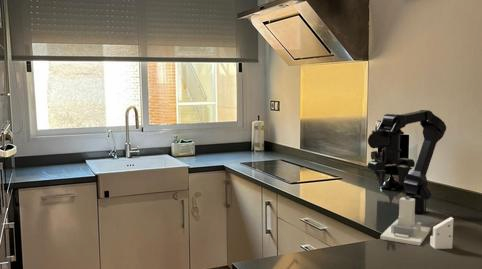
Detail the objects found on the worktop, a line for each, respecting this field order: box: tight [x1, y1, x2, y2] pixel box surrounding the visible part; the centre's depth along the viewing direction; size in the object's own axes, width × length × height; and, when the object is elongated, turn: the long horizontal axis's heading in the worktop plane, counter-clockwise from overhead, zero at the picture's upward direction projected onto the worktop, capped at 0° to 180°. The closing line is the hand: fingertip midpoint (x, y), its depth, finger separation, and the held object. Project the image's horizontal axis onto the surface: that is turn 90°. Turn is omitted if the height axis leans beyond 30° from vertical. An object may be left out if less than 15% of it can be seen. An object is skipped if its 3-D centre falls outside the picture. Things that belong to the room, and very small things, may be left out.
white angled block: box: [429, 216, 454, 250], centre depth 158 cm, size 4×10×9 cm, turn 92°
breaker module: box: [397, 195, 416, 228], centre depth 170 cm, size 5×4×12 cm
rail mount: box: [379, 218, 431, 247], centre depth 171 cm, size 18×13×4 cm
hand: (390, 185), depth 190 cm, fingers open, 9 cm apart
